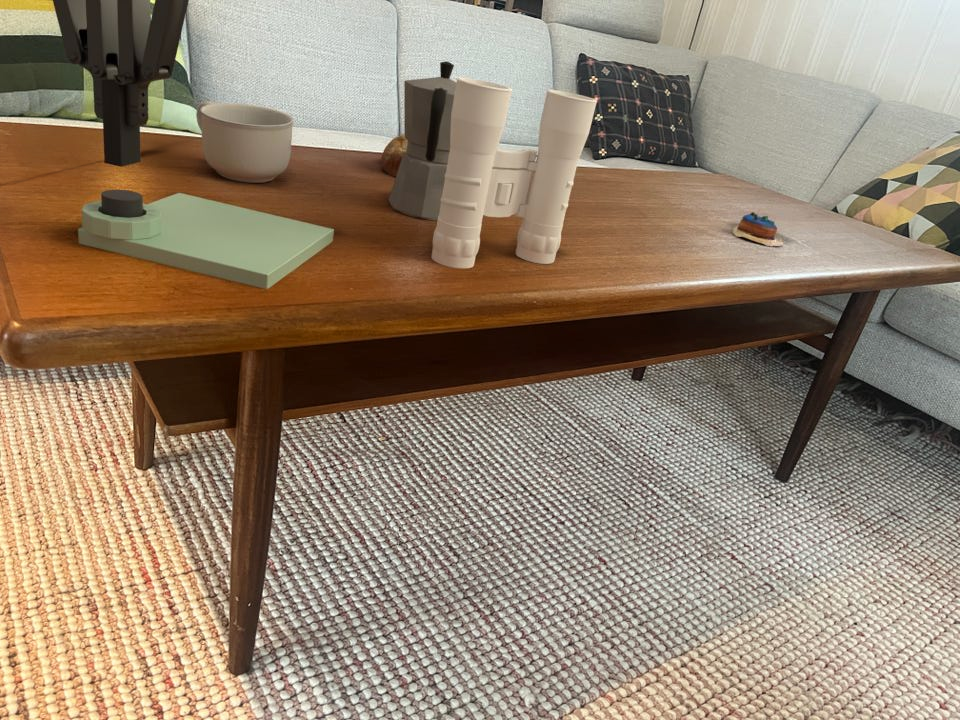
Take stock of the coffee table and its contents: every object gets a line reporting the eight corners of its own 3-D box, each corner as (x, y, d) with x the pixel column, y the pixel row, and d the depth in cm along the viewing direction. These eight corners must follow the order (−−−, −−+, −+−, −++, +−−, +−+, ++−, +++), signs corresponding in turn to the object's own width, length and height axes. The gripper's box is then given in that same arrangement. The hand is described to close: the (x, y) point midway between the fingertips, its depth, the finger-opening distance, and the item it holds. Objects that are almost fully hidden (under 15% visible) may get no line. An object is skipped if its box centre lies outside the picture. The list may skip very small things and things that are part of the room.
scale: (67, 244, 62) (65, 210, 60) (173, 204, 77) (174, 176, 75) (264, 292, 60) (266, 258, 59) (332, 242, 75) (335, 214, 74)
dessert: (724, 228, 115) (745, 198, 115) (728, 247, 121) (749, 218, 121) (770, 248, 111) (792, 217, 111) (772, 267, 117) (793, 237, 117)
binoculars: (537, 248, 88) (573, 92, 80) (567, 264, 84) (607, 102, 77) (417, 253, 77) (445, 75, 70) (446, 271, 74) (479, 85, 66)
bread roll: (417, 189, 118) (407, 139, 117) (467, 178, 112) (457, 125, 110) (375, 194, 110) (364, 140, 109) (426, 182, 104) (415, 125, 103)
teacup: (305, 187, 93) (311, 123, 89) (227, 190, 85) (230, 120, 81) (246, 158, 100) (249, 98, 97) (170, 159, 93) (170, 93, 89)
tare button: (93, 214, 62) (92, 194, 61) (116, 206, 65) (116, 187, 64) (128, 222, 62) (128, 202, 61) (150, 214, 64) (150, 195, 64)
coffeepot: (393, 191, 99) (413, 50, 92) (461, 204, 100) (486, 65, 92) (378, 221, 85) (400, 58, 78) (457, 235, 86) (486, 75, 78)
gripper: (226, -145, 54) (217, 171, 64) (63, -177, 55) (80, 140, 65) (171, -172, 47) (171, 187, 57) (-13, -207, 48) (18, 152, 58)
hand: (122, 162), depth 61 cm, fingers closed
